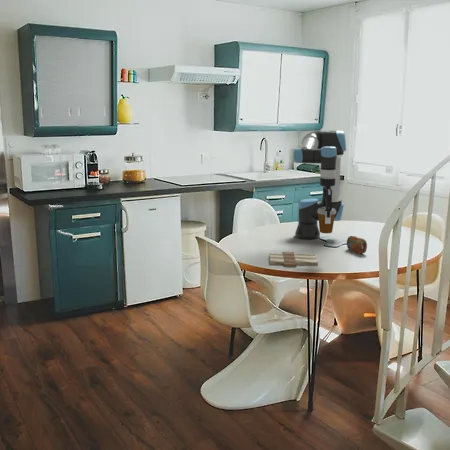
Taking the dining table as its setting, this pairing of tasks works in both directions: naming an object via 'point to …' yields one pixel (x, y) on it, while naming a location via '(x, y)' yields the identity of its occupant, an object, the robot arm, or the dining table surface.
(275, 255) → the board
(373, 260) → the dining table surface
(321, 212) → the disposable coffee cup
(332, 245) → the dining table surface
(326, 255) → the dining table surface
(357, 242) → the tin
